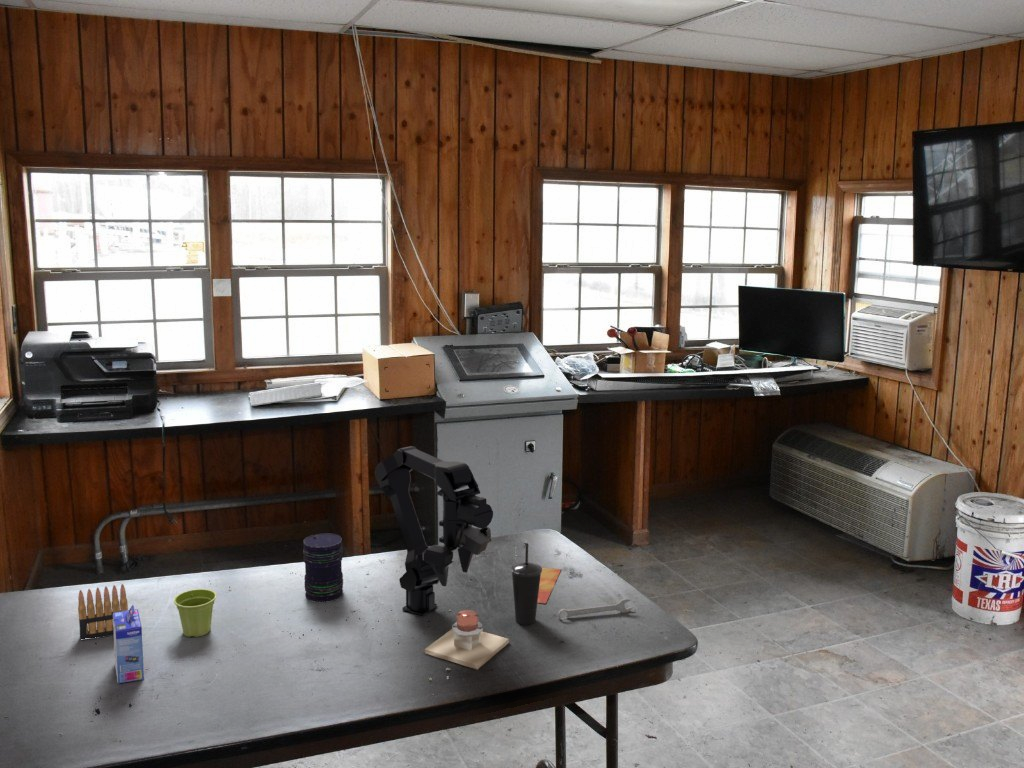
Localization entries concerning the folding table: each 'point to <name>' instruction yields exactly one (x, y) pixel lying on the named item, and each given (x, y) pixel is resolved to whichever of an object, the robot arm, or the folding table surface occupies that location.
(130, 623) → the ink cartridge box
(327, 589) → the storage jar
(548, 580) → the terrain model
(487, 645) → the stand
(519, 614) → the drinking cup
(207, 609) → the plant pot
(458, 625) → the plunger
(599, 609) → the combination wrench
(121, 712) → the folding table surface
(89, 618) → the ammunition clip
